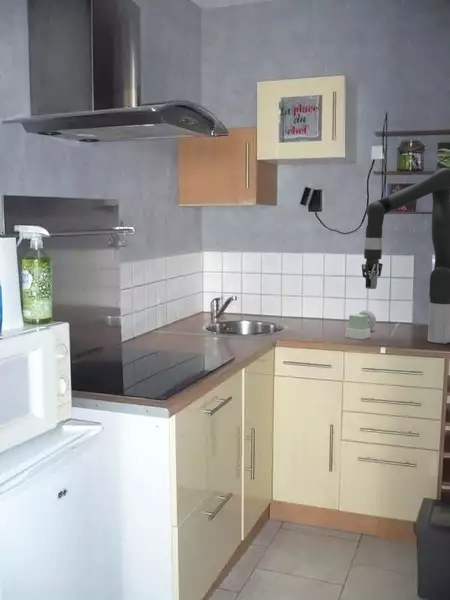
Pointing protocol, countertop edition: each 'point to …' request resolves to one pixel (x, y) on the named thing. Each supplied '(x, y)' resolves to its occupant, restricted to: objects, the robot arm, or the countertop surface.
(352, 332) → the ceramic pedestal
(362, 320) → the sage cube
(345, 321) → the countertop surface
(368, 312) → the donut
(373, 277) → the charcoal cylinder
